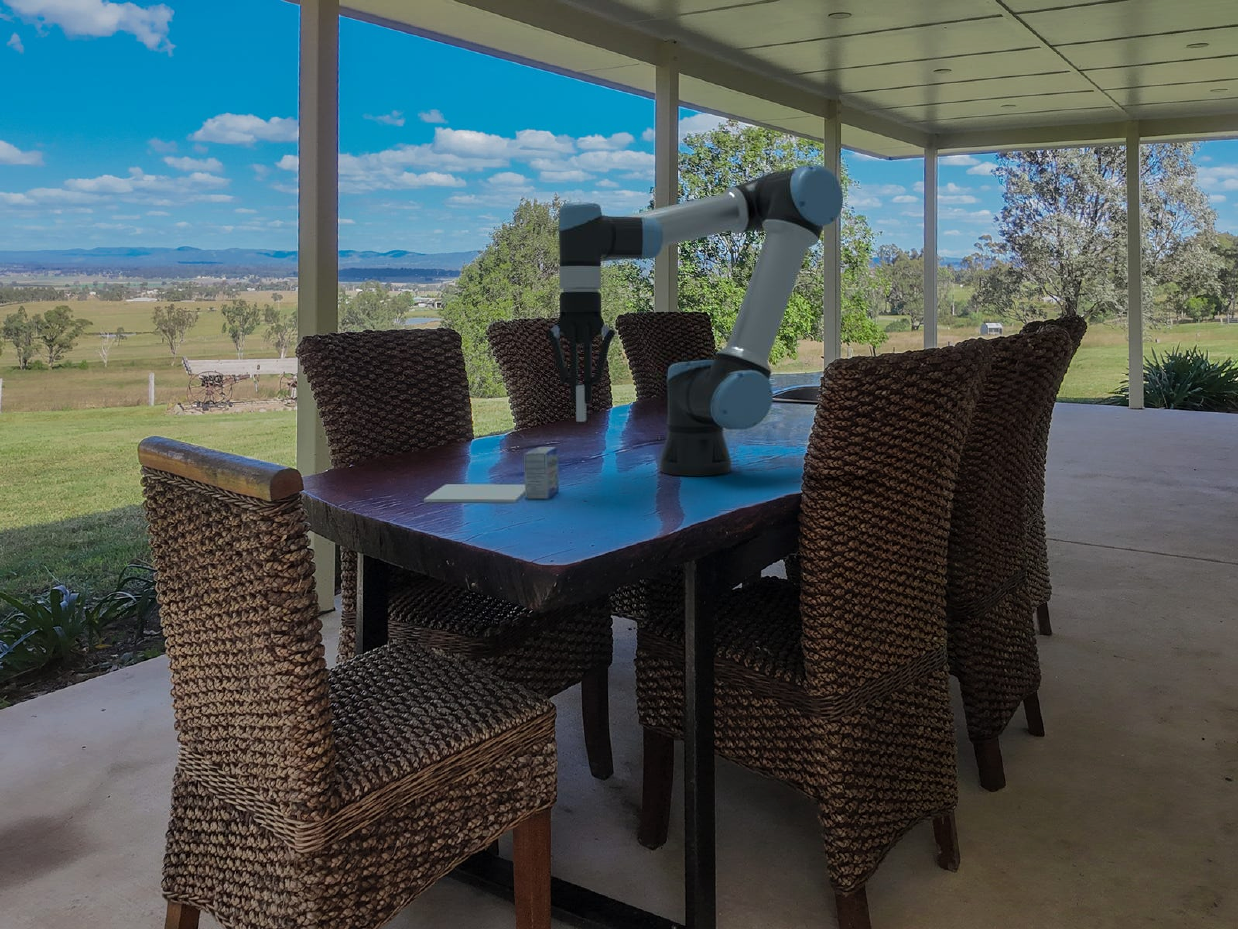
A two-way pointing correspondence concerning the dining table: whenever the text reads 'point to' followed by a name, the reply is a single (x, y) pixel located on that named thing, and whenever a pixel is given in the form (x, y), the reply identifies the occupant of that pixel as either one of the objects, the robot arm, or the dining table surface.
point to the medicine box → (541, 473)
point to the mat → (477, 493)
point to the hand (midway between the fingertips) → (581, 420)
